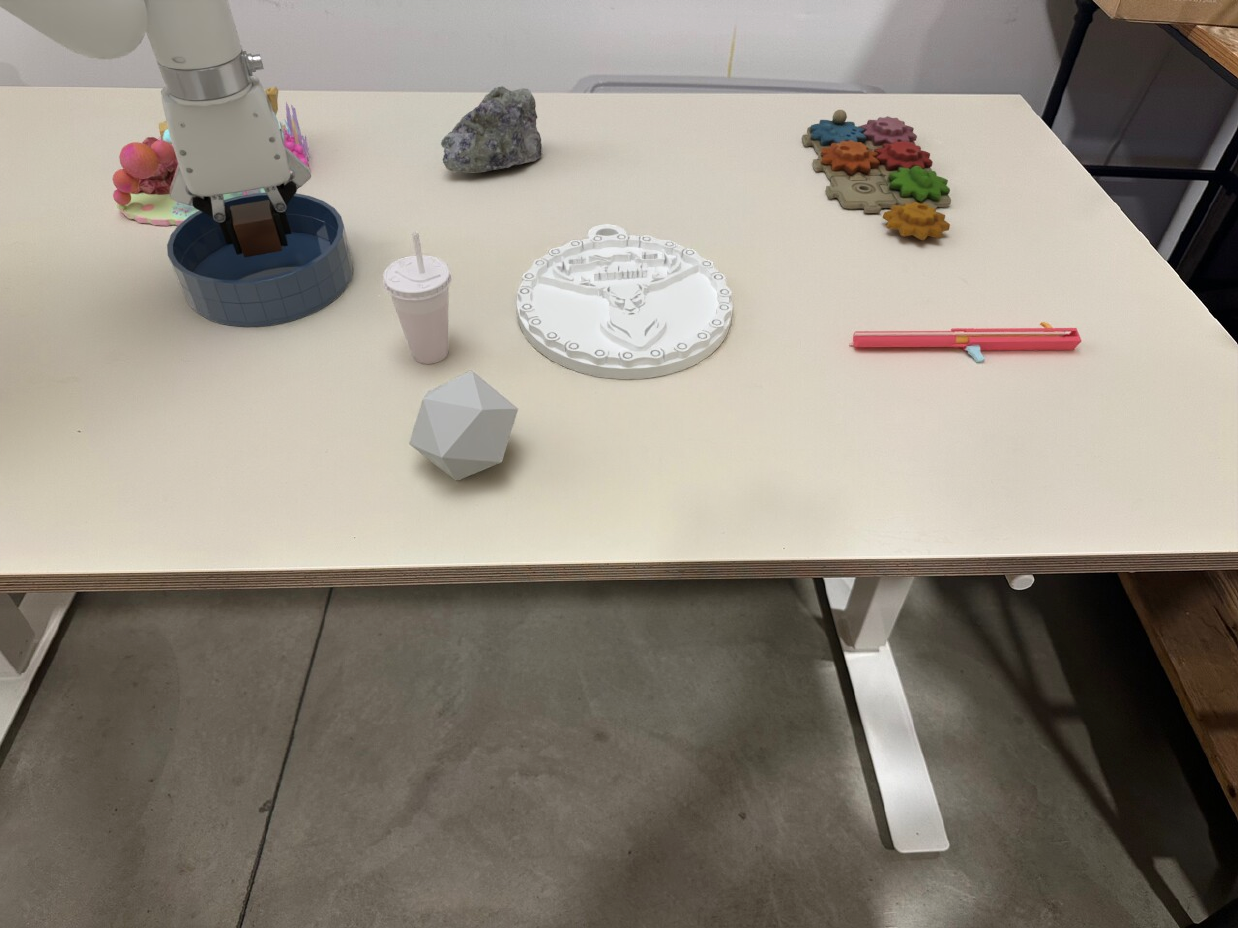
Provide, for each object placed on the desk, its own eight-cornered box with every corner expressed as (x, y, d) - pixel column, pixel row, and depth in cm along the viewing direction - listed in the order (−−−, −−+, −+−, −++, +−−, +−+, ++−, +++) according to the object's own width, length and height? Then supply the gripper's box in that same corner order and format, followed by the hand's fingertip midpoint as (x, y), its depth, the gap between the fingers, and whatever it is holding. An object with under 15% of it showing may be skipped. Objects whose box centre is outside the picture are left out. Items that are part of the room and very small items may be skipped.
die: (480, 414, 84) (404, 361, 77) (549, 406, 78) (474, 348, 71) (454, 494, 81) (372, 446, 73) (524, 492, 75) (443, 440, 68)
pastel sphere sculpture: (127, 142, 118) (99, 74, 112) (304, 122, 124) (288, 56, 117) (114, 238, 102) (81, 165, 95) (319, 210, 107) (301, 139, 101)
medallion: (526, 389, 85) (525, 370, 84) (507, 240, 104) (506, 223, 102) (755, 369, 88) (759, 351, 87) (698, 228, 107) (700, 211, 105)
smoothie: (450, 376, 86) (431, 255, 76) (389, 367, 87) (362, 247, 77) (469, 337, 91) (453, 218, 81) (410, 329, 91) (388, 210, 81)
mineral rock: (444, 183, 113) (433, 107, 106) (449, 144, 120) (439, 71, 113) (542, 181, 114) (539, 106, 106) (541, 143, 121) (538, 70, 114)
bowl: (188, 342, 89) (169, 298, 85) (181, 249, 101) (165, 207, 97) (365, 307, 94) (355, 264, 90) (340, 223, 106) (330, 181, 102)
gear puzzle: (979, 247, 105) (990, 217, 102) (849, 249, 104) (857, 219, 101) (903, 130, 126) (911, 102, 124) (795, 131, 125) (800, 103, 122)
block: (244, 258, 93) (232, 225, 90) (241, 238, 95) (230, 206, 92) (282, 251, 94) (272, 218, 91) (278, 232, 96) (268, 199, 93)
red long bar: (1077, 366, 91) (1065, 329, 93) (1087, 355, 89) (1076, 317, 91) (853, 367, 90) (846, 330, 92) (858, 356, 88) (852, 318, 90)
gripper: (293, 48, 86) (334, 213, 99) (110, 70, 81) (178, 240, 95) (302, 78, 81) (344, 248, 94) (108, 103, 76) (181, 277, 90)
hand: (261, 242), depth 94 cm, fingers closed on block, 4 cm apart
